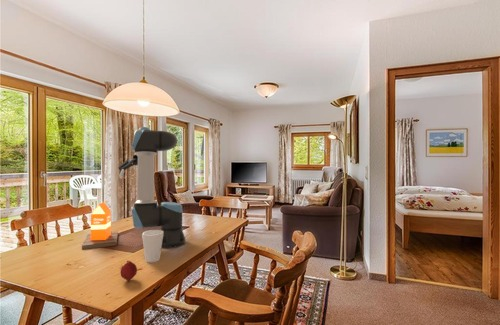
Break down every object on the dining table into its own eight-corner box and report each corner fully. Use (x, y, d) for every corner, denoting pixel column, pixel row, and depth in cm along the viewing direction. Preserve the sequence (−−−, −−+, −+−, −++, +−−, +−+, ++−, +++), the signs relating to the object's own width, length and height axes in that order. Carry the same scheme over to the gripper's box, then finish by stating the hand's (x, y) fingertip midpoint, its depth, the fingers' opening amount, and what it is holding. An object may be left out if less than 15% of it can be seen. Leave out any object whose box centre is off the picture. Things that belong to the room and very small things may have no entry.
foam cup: (155, 264, 113) (155, 236, 113) (137, 262, 115) (137, 234, 115) (166, 257, 122) (167, 230, 122) (150, 255, 124) (150, 229, 124)
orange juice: (110, 235, 149) (111, 201, 149) (105, 239, 141) (106, 204, 140) (96, 235, 148) (96, 201, 147) (90, 240, 139) (90, 204, 139)
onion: (128, 276, 102) (128, 256, 102) (140, 278, 100) (140, 258, 100) (117, 282, 96) (117, 262, 96) (129, 285, 94) (129, 264, 94)
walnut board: (116, 245, 138) (116, 241, 138) (81, 249, 131) (81, 245, 131) (117, 234, 157) (117, 231, 157) (87, 237, 150) (87, 234, 150)
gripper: (159, 159, 179) (152, 181, 165) (123, 158, 178) (112, 181, 163) (156, 151, 174) (149, 174, 159) (120, 150, 172) (109, 173, 157)
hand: (131, 177), depth 161 cm, fingers open, 13 cm apart
